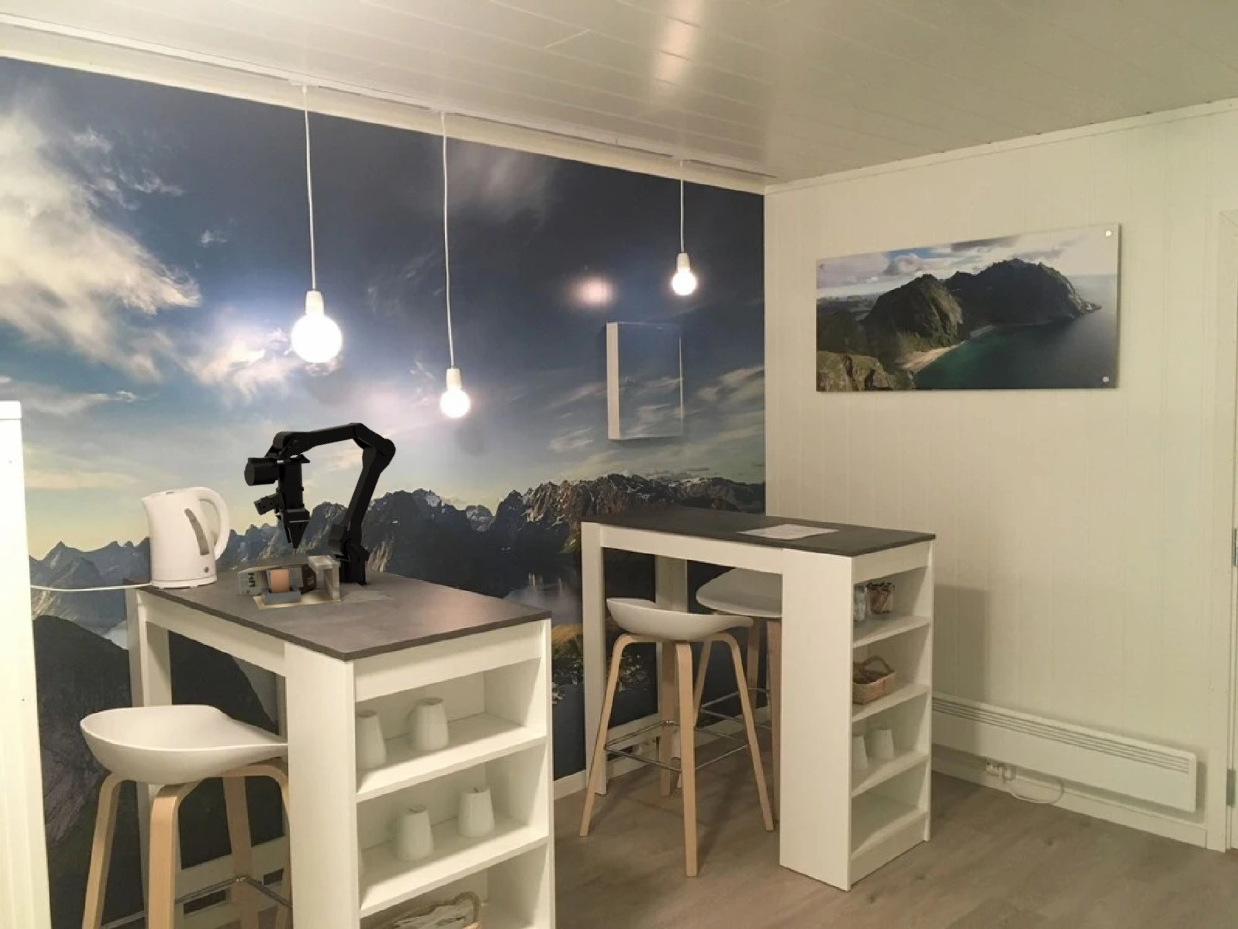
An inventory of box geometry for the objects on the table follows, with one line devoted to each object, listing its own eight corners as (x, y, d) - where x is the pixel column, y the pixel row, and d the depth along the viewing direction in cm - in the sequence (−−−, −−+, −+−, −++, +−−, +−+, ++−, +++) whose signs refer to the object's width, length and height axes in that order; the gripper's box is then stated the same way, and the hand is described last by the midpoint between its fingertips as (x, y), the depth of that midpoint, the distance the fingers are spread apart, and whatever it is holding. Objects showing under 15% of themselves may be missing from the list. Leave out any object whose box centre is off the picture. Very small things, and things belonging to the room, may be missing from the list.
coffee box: (239, 598, 236) (304, 593, 235) (236, 572, 236) (301, 566, 235) (255, 591, 245) (317, 586, 244) (252, 566, 245) (315, 560, 244)
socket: (296, 595, 235) (295, 585, 235) (301, 601, 228) (300, 591, 228) (261, 598, 232) (260, 588, 231) (265, 605, 224) (264, 594, 224)
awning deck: (330, 592, 242) (328, 554, 241) (341, 605, 229) (339, 564, 228) (253, 600, 234) (251, 561, 233) (260, 613, 221) (258, 572, 220)
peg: (271, 599, 231) (269, 570, 230) (288, 597, 232) (287, 568, 232) (272, 602, 227) (271, 573, 226) (290, 600, 229) (289, 571, 228)
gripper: (251, 481, 244) (254, 543, 245) (259, 488, 227) (262, 554, 228) (297, 478, 248) (300, 539, 250) (309, 485, 232) (311, 550, 233)
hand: (292, 545), depth 240 cm, fingers open, 9 cm apart
